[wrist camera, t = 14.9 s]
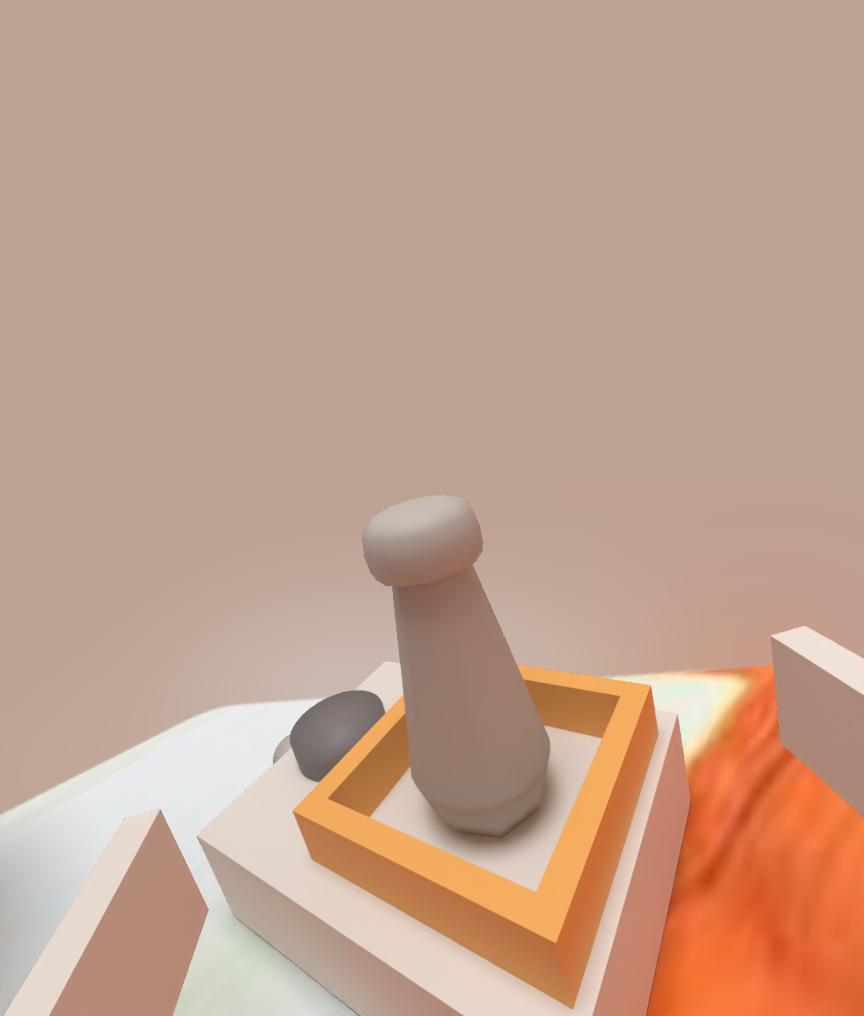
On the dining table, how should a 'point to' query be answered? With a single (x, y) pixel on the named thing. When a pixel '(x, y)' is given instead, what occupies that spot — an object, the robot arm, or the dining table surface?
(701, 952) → the dining table surface
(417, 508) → the salt shaker
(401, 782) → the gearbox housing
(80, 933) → the robot arm
